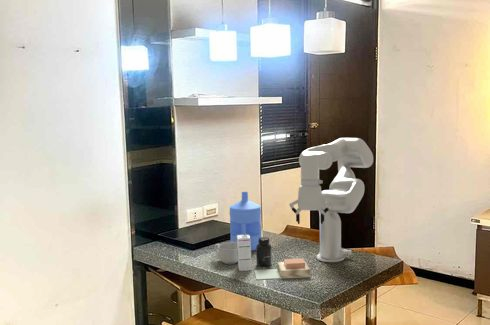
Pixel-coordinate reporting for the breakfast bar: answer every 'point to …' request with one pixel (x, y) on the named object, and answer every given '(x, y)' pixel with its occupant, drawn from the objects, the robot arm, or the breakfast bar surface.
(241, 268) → the syrup box
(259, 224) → the water jug
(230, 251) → the teacup
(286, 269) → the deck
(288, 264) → the tile
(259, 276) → the mat
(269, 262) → the supplement bottle
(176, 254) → the breakfast bar surface
